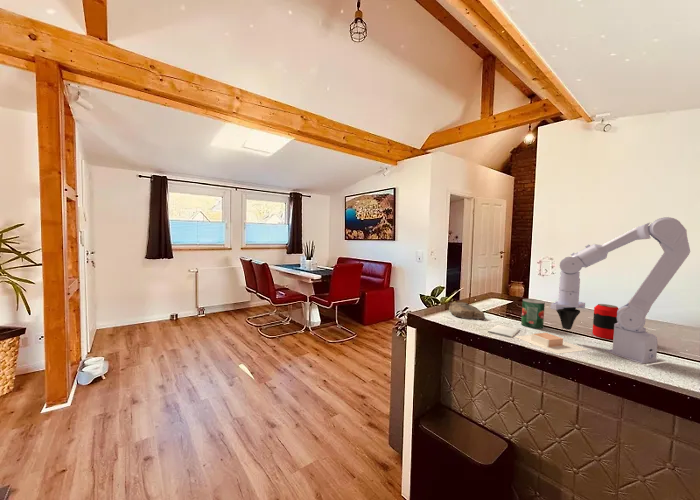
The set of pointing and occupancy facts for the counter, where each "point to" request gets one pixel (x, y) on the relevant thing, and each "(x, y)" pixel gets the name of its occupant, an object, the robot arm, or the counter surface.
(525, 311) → the canned tomato
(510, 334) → the hard drive
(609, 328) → the soda can
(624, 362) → the counter surface
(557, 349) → the felt mat
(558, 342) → the terracotta tile
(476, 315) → the brown rock
